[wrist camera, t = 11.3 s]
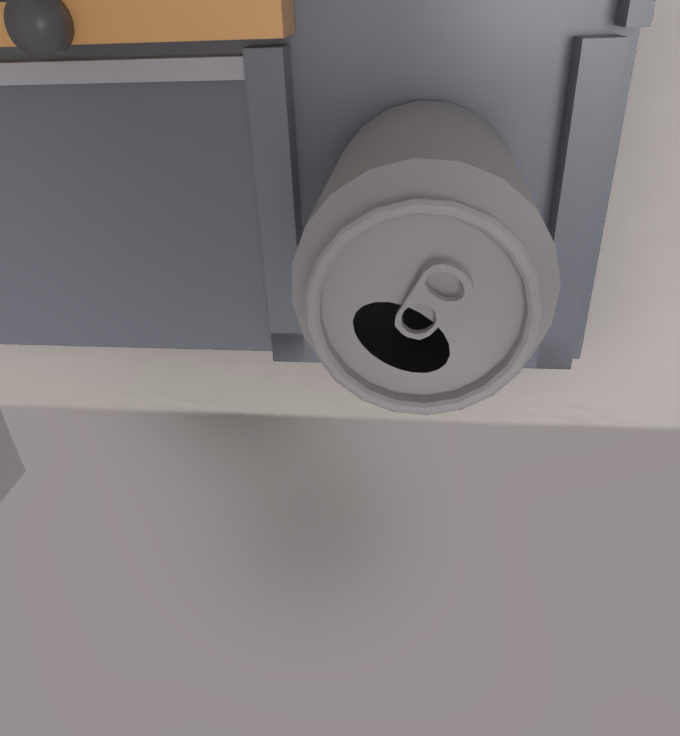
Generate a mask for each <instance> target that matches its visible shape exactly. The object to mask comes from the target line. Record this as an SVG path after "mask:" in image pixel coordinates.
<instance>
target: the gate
mask: <svg viewBox="0 0 680 736" xmlns="http://www.w3.org/2000/svg"><path fill="white" fill-rule="evenodd" d="M293 34H295V19H294V3H293V0H8V1H7V2H0V47H16V46H17V47H18V48H19V49H20V50H21V51H23V52H24V53H26V54H28V55H30V56H34V57H46V56H51V55H56V54H60V53H63V52H64V51H66V50H67V49H68V48H69V47H70V45H80V44H113V43H145V42H177V41H209V40H242V39H274V38H285V37H288V36H290V35H293Z"/></svg>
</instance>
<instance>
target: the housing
mask: <svg viewBox="0 0 680 736" xmlns="http://www.w3.org/2000/svg"><path fill="white" fill-rule="evenodd" d="M7 1H8V0H0V2H7ZM293 3H294V19H295V34H293V35H290V36H288V37H285V38H274V39H242V40H209V41H177V42H145V43H113V44H80V45H70V47H69V48H68V49H67V50H66V51H64V52H63V53H60V54H56V55H51V56H46V57H34V56H30V55H28V54H26V53H24V52H23V51H21V50H20V49H19V48H18V47H17V46H16V47H0V344H18V345H58V346H97V347H137V348H176V349H215V350H255V351H273V360H274V361H284V362H321V361H320V360H319V358H318V357H317V356H316V354H315V352H314V350H313V349H312V347H311V346H310V345H309V343H308V342H307V341H306V339H305V338H304V336H303V333H302V330H301V327H300V324H299V321H298V319H297V316H296V313H295V310H294V307H293V304H292V262H293V260H294V257H295V254H296V251H297V248H298V245H299V242H300V240H301V237H302V234H303V231H304V228H305V226H306V224H307V222H308V220H309V218H310V216H311V214H312V212H313V210H314V208H315V206H316V204H317V202H318V200H319V198H320V196H321V194H322V192H323V190H324V188H325V186H326V184H327V182H328V180H329V178H330V176H331V174H332V172H333V170H334V168H335V166H336V164H337V162H338V160H339V158H340V156H341V154H342V152H343V150H344V149H345V148H346V146H347V145H348V144H349V143H350V141H351V140H352V139H353V137H354V136H355V135H356V134H357V132H358V131H359V130H360V128H361V127H362V126H363V125H365V124H366V123H368V122H369V121H371V120H372V119H374V118H375V117H377V116H378V115H380V114H381V113H382V112H384V111H385V110H387V109H389V108H393V107H396V106H400V105H403V104H407V103H411V102H414V101H418V100H421V101H438V102H450V103H453V104H455V105H457V106H460V107H462V108H464V109H467V110H469V111H472V112H474V113H476V114H478V115H479V116H481V117H482V118H483V119H484V120H485V121H486V122H487V123H488V124H489V125H490V126H491V127H492V128H494V129H495V130H496V131H497V132H498V133H499V134H500V135H501V137H502V139H503V141H504V143H505V145H506V146H507V148H508V150H509V152H510V154H511V156H512V158H513V160H514V162H515V164H516V166H517V168H518V170H519V172H520V174H521V176H522V178H523V180H524V182H525V184H526V186H527V188H528V190H529V192H530V194H531V196H532V198H533V200H534V203H535V205H536V207H537V209H538V211H539V213H540V215H541V217H542V219H543V221H544V223H545V225H546V227H547V229H548V231H549V233H550V235H551V237H552V239H553V241H554V243H555V245H556V251H557V259H558V268H559V276H560V284H561V287H560V291H559V295H558V300H557V304H556V308H555V312H554V317H553V321H552V325H551V326H550V328H549V329H548V331H547V333H546V334H545V336H544V337H543V339H542V341H541V342H540V344H539V345H538V347H537V349H536V350H535V352H534V353H533V355H532V356H531V358H530V359H529V360H527V361H526V363H525V365H524V366H523V368H541V369H570V368H571V363H572V359H580V354H581V349H582V343H583V338H584V332H585V327H586V321H587V316H588V310H589V305H590V299H591V294H592V288H593V283H594V277H595V272H596V266H597V261H598V256H599V250H600V245H601V239H602V234H603V228H604V223H605V217H606V212H607V206H608V201H609V195H610V190H611V184H612V179H613V173H614V168H615V162H616V157H617V151H618V146H619V140H620V135H621V129H622V124H623V118H624V113H625V108H626V102H627V97H628V91H629V86H630V80H631V75H632V69H633V64H634V58H635V53H636V47H637V42H638V36H639V31H640V27H651V21H652V16H653V11H654V5H655V0H293ZM321 363H322V362H321Z"/></svg>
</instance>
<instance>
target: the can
mask: <svg viewBox="0 0 680 736" xmlns="http://www.w3.org/2000/svg"><path fill="white" fill-rule="evenodd" d="M560 287H561V284H560V276H559V268H558V259H557V251H556V245H555V243H554V241H553V239H552V237H551V235H550V233H549V231H548V229H547V227H546V225H545V223H544V221H543V219H542V217H541V215H540V213H539V211H538V209H537V207H536V205H535V203H534V200H533V198H532V196H531V194H530V192H529V190H528V188H527V186H526V184H525V182H524V180H523V178H522V176H521V174H520V172H519V170H518V168H517V166H516V164H515V162H514V160H513V158H512V156H511V154H510V152H509V150H508V148H507V146H506V145H505V143H504V141H503V139H502V137H501V135H500V134H499V133H498V132H497V131H496V130H495V129H494V128H492V127H491V126H490V125H489V124H488V123H487V122H486V121H485V120H484V119H483V118H482V117H481V116H479V115H478V114H476V113H474V112H472V111H469V110H467V109H464V108H462V107H460V106H457V105H455V104H453V103H450V102H438V101H421V100H418V101H414V102H411V103H407V104H403V105H400V106H396V107H393V108H389V109H387V110H385V111H384V112H382V113H381V114H380V115H378V116H377V117H375V118H374V119H372V120H371V121H369V122H368V123H366V124H365V125H363V126H362V127H361V128H360V130H359V131H358V132H357V134H356V135H355V136H354V137H353V139H352V140H351V141H350V143H349V144H348V145H347V146H346V148H345V149H344V150H343V152H342V154H341V156H340V158H339V160H338V162H337V164H336V166H335V168H334V170H333V172H332V174H331V176H330V178H329V180H328V182H327V184H326V186H325V188H324V190H323V192H322V194H321V196H320V198H319V200H318V202H317V204H316V206H315V208H314V210H313V212H312V214H311V216H310V218H309V220H308V222H307V224H306V226H305V228H304V231H303V234H302V237H301V240H300V242H299V245H298V248H297V251H296V254H295V257H294V260H293V262H292V304H293V307H294V310H295V313H296V316H297V319H298V321H299V324H300V327H301V330H302V333H303V336H304V338H305V339H306V341H307V342H308V343H309V345H310V346H311V347H312V349H313V350H314V352H315V354H316V356H317V357H318V358H319V360H320V361H321V362H322V364H323V365H324V366H325V368H326V369H327V370H328V372H329V373H330V374H331V376H332V377H333V378H334V380H335V381H337V382H338V383H339V384H341V385H342V386H343V387H345V388H346V389H348V390H349V391H350V392H352V393H353V394H354V395H356V396H357V397H358V398H360V399H361V400H364V401H366V402H369V403H372V404H374V405H377V406H379V407H382V408H385V409H387V410H390V411H393V412H402V413H412V414H422V415H430V414H436V413H443V412H449V411H455V410H461V409H464V408H466V407H468V406H470V405H473V404H475V403H477V402H479V401H481V400H484V399H486V398H488V397H490V396H493V395H494V394H495V393H496V392H497V391H499V390H500V389H501V388H502V387H503V386H505V385H506V384H507V383H508V382H509V381H510V380H512V379H513V378H514V377H515V376H516V375H518V374H519V373H520V371H521V369H522V368H523V366H524V365H525V363H526V361H527V360H529V359H530V358H531V356H532V355H533V353H534V352H535V350H536V349H537V347H538V345H539V344H540V342H541V341H542V339H543V337H544V336H545V334H546V333H547V331H548V329H549V328H550V326H551V325H552V321H553V317H554V312H555V308H556V304H557V300H558V295H559V291H560Z"/></svg>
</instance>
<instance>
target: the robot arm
mask: <svg viewBox="0 0 680 736" xmlns="http://www.w3.org/2000/svg"><path fill="white" fill-rule="evenodd" d="M24 473H25V469H24V466H23V464H22V462H21V459H20V457H19V454H18V452H17V449H16V447H15V444H14V442H13V439H12V437H11V434H10V432H9V430H8V427H7V425H6V422H5V420H4V418H3V415H2V413H1V410H0V503H1V501H2V500H3V499H4V498H5V496H6V495H7V494H8V493H9V491H10V490H11V488H13V486H14V485H15V484H16V483H17V481H18V480H19V479H20V478H21V476H22V475H23V474H24Z"/></svg>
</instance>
